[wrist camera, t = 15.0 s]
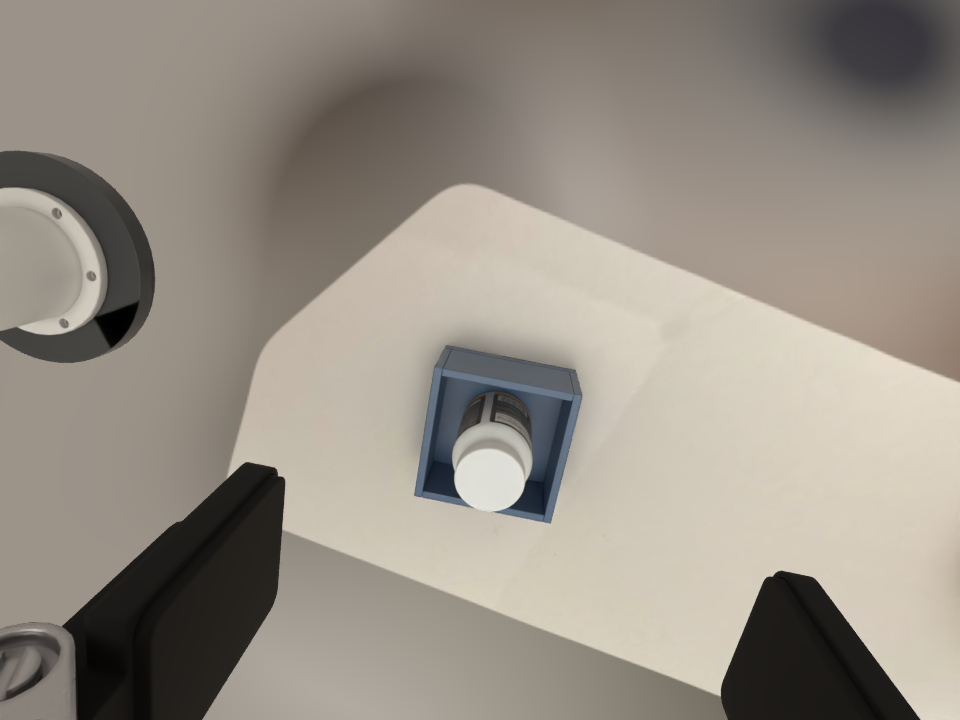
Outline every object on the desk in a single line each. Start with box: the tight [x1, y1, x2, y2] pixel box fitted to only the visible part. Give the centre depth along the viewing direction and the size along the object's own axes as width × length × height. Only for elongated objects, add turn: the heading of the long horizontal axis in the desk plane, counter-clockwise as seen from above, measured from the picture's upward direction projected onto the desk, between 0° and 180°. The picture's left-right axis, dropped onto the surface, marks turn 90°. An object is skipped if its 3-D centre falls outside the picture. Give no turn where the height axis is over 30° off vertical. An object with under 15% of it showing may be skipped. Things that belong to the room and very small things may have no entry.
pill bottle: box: [452, 391, 533, 511], centre depth 40 cm, size 6×6×10 cm
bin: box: [414, 346, 582, 523], centre depth 43 cm, size 11×11×6 cm
